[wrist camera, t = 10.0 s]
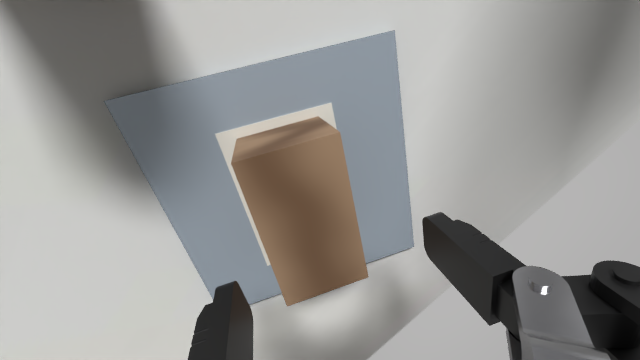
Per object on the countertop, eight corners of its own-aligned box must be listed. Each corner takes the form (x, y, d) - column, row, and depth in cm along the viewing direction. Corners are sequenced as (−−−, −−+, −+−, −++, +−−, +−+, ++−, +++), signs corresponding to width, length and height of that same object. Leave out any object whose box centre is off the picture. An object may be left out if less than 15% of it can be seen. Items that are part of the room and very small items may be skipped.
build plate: (389, 31, 16) (395, 29, 15) (410, 242, 23) (414, 247, 22) (109, 99, 14) (102, 101, 13) (222, 308, 21) (221, 315, 20)
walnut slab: (318, 116, 16) (340, 132, 12) (345, 234, 20) (368, 277, 16) (236, 138, 16) (230, 163, 12) (280, 256, 19) (287, 306, 15)
